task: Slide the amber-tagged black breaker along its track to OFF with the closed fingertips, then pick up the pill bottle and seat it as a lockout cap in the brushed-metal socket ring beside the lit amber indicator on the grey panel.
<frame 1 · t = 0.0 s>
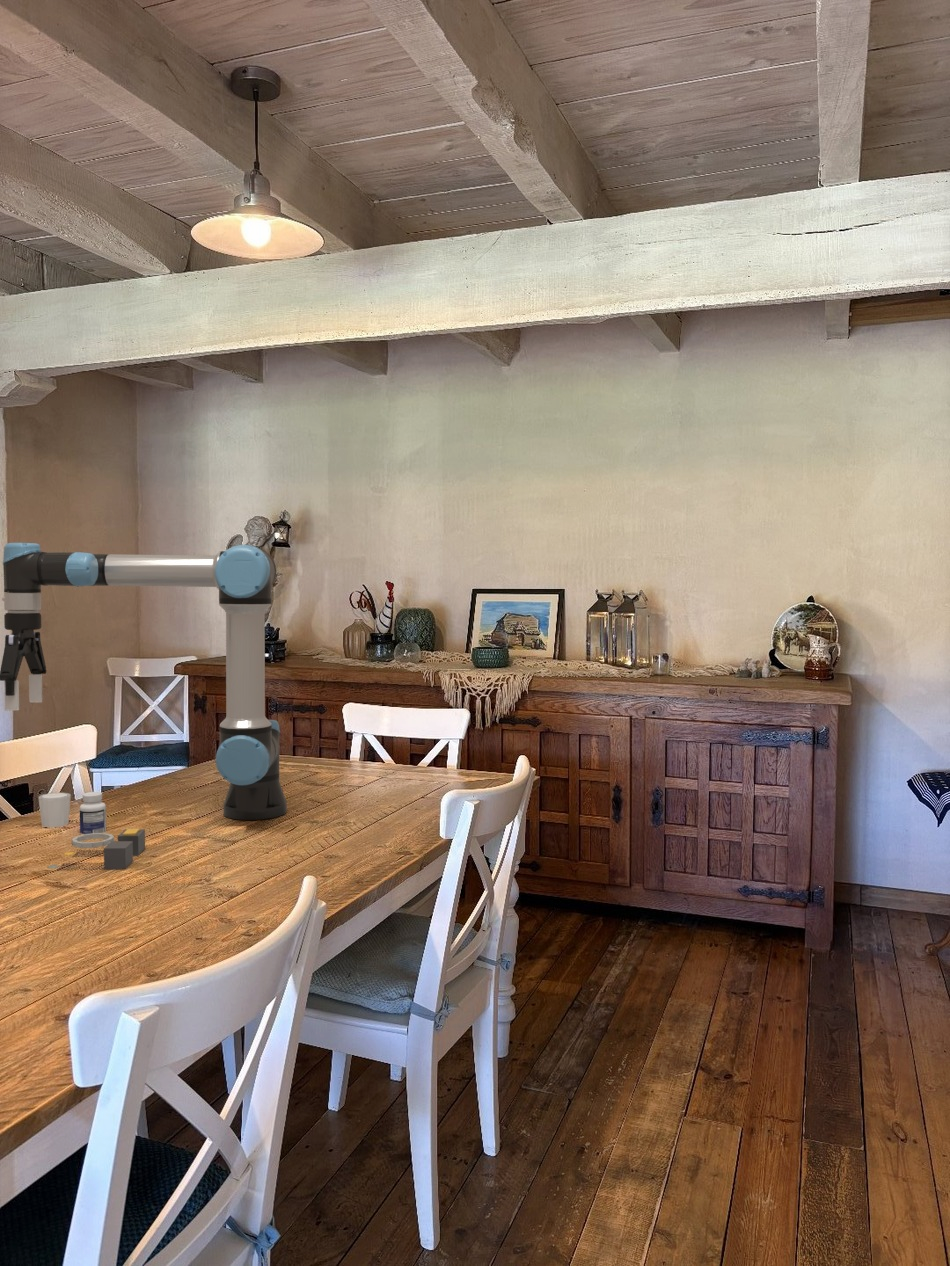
hand: (24, 706, 216), 28 cm above the table, fingers open, 13 cm apart
pill bottle: (93, 838, 211), on the table
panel: (106, 859, 195), on the table
grey cup: (55, 826, 221), on the table
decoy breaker: (118, 854, 186), point 3 cm above the table, slide at 0.0 cm
tagged breaker: (131, 841, 195), point 4 cm above the table, slide at 0.0 cm
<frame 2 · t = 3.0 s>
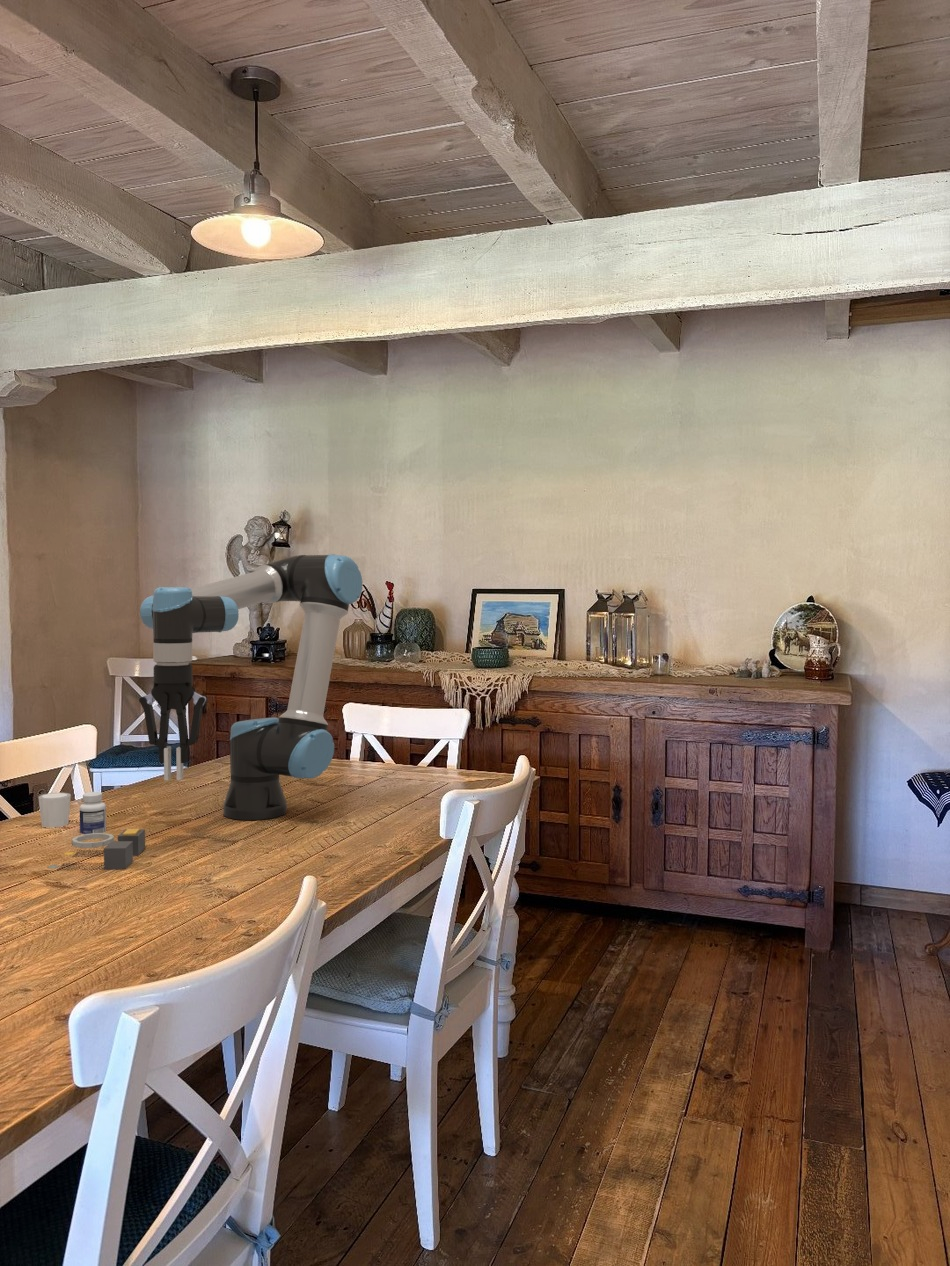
hand: (173, 778, 195), 16 cm above the table, fingers closed
nothing on the table moved.
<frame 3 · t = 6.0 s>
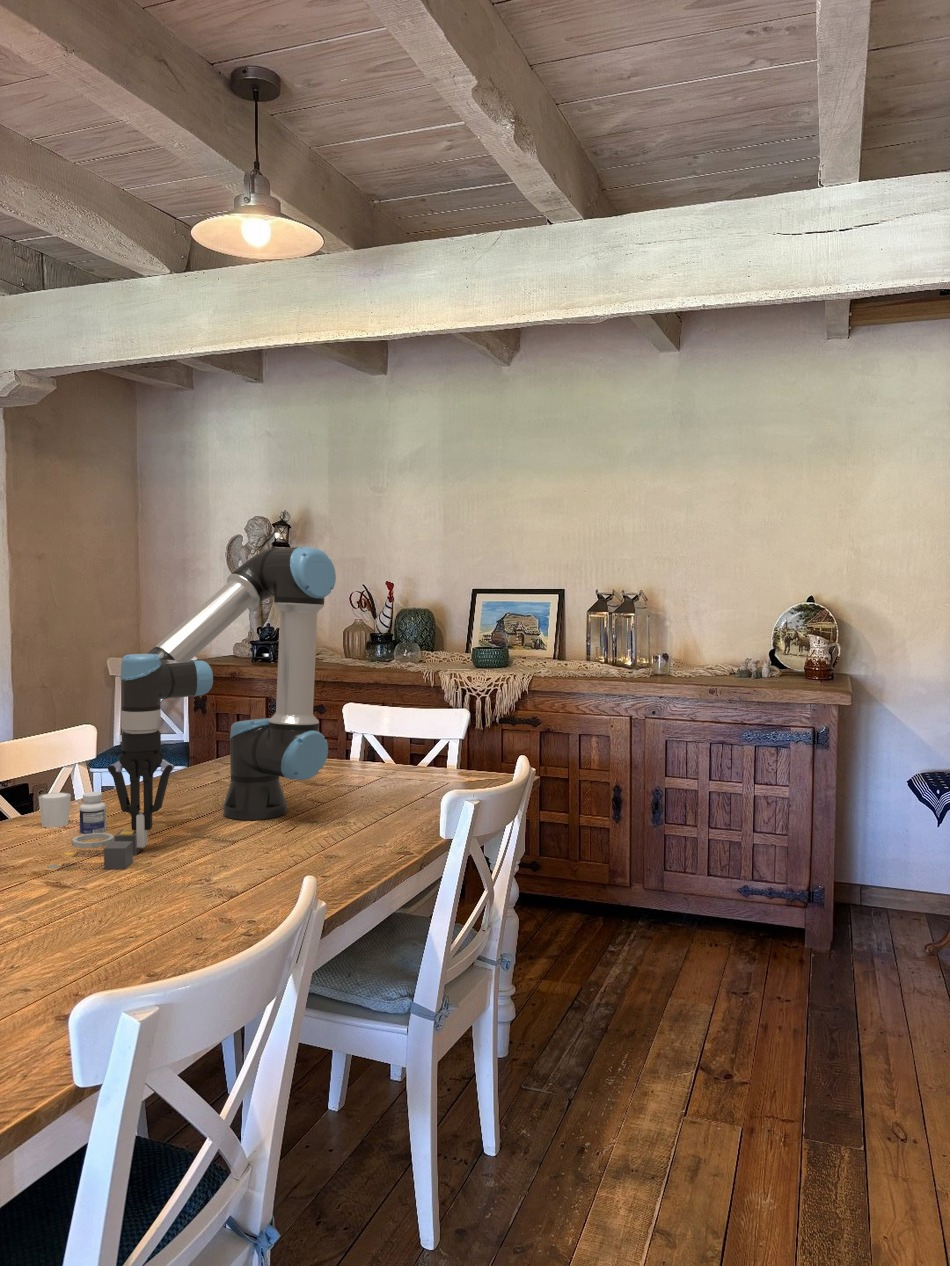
hand: (142, 845, 195), 3 cm above the table, fingers closed
tagged breaker: (128, 841, 195), point 4 cm above the table, slide at 0.7 cm, touching gripper
everything else where it was.
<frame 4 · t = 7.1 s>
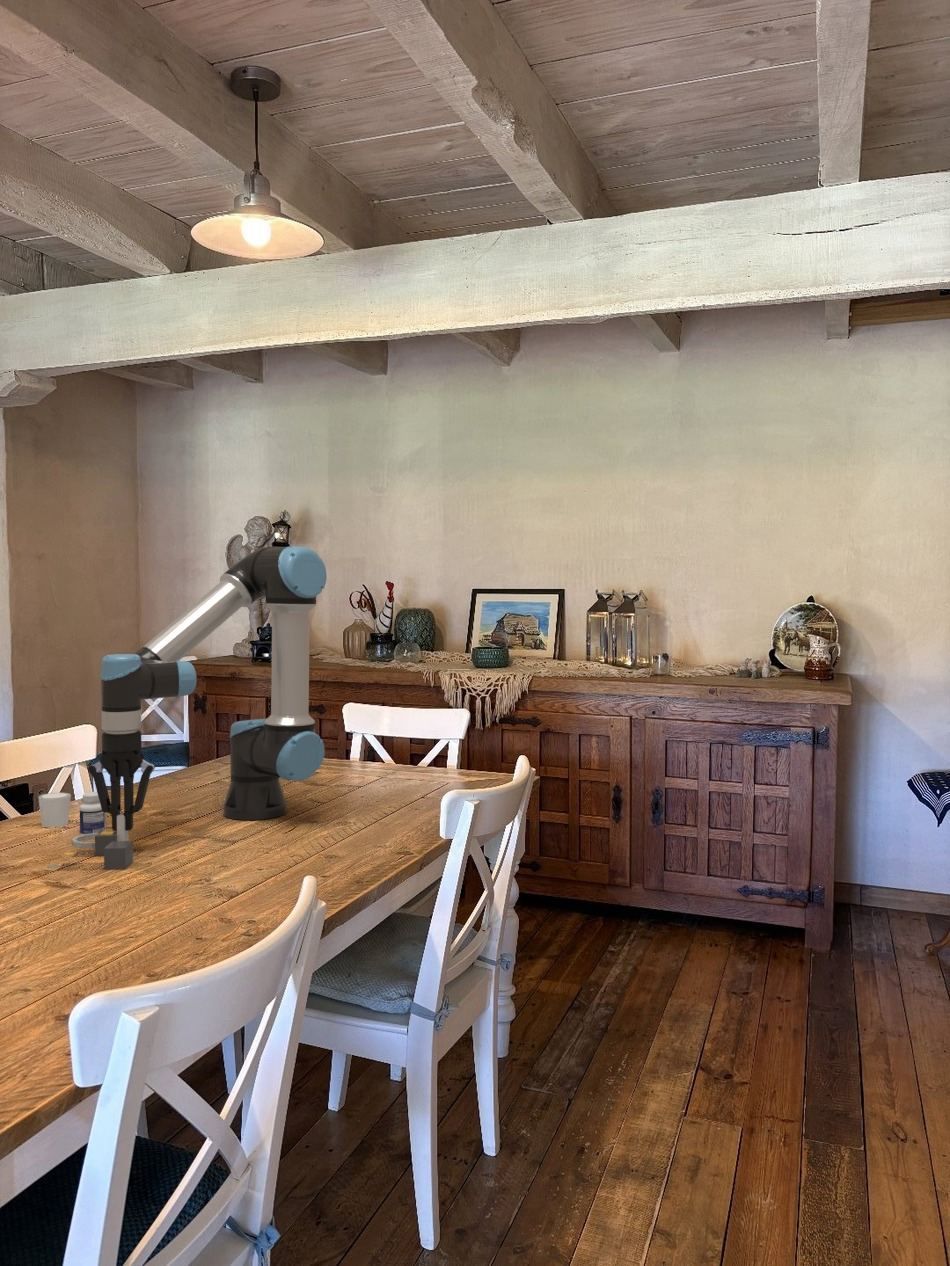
hand: (122, 846, 195), 3 cm above the table, fingers closed
tagged breaker: (109, 841, 195), point 4 cm above the table, slide at 4.5 cm, touching gripper
everything else where it was.
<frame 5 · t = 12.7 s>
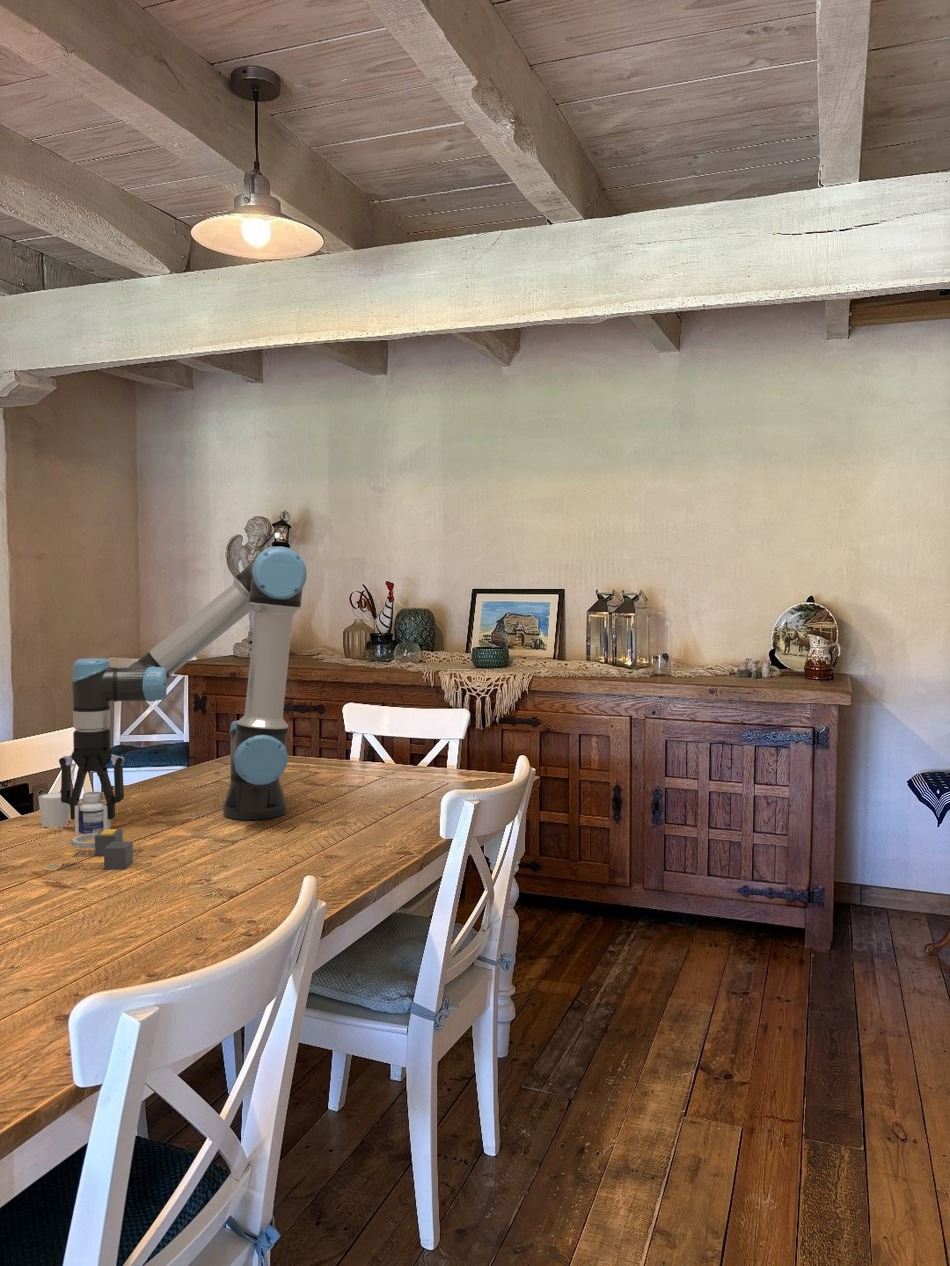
hand: (93, 833, 211), 1 cm above the table, fingers closed on pill bottle, 5 cm apart
pill bottle: (93, 838, 211), on the table, touching gripper
tagged breaker: (108, 841, 195), point 4 cm above the table, slide at 4.5 cm
everything else where it was.
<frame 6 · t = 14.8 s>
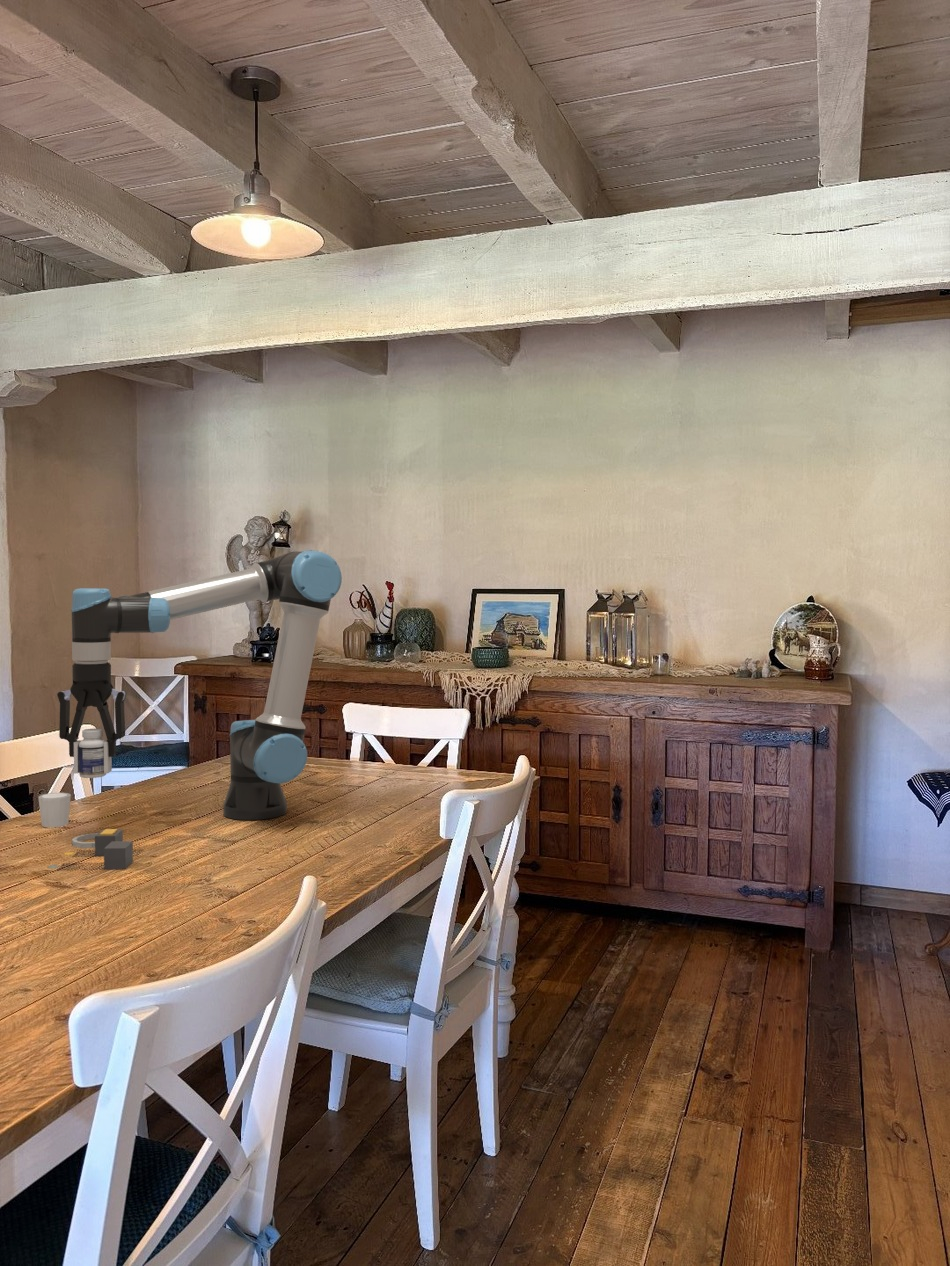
hand: (93, 771, 202), 16 cm above the table, fingers closed on pill bottle, 5 cm apart
pill bottle: (93, 776, 202), point 15 cm above the table, touching gripper
everything else where it was.
when the fingers open (4 cm above the table, at t = 17.1 s): pill bottle drops 2 cm, resting on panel.
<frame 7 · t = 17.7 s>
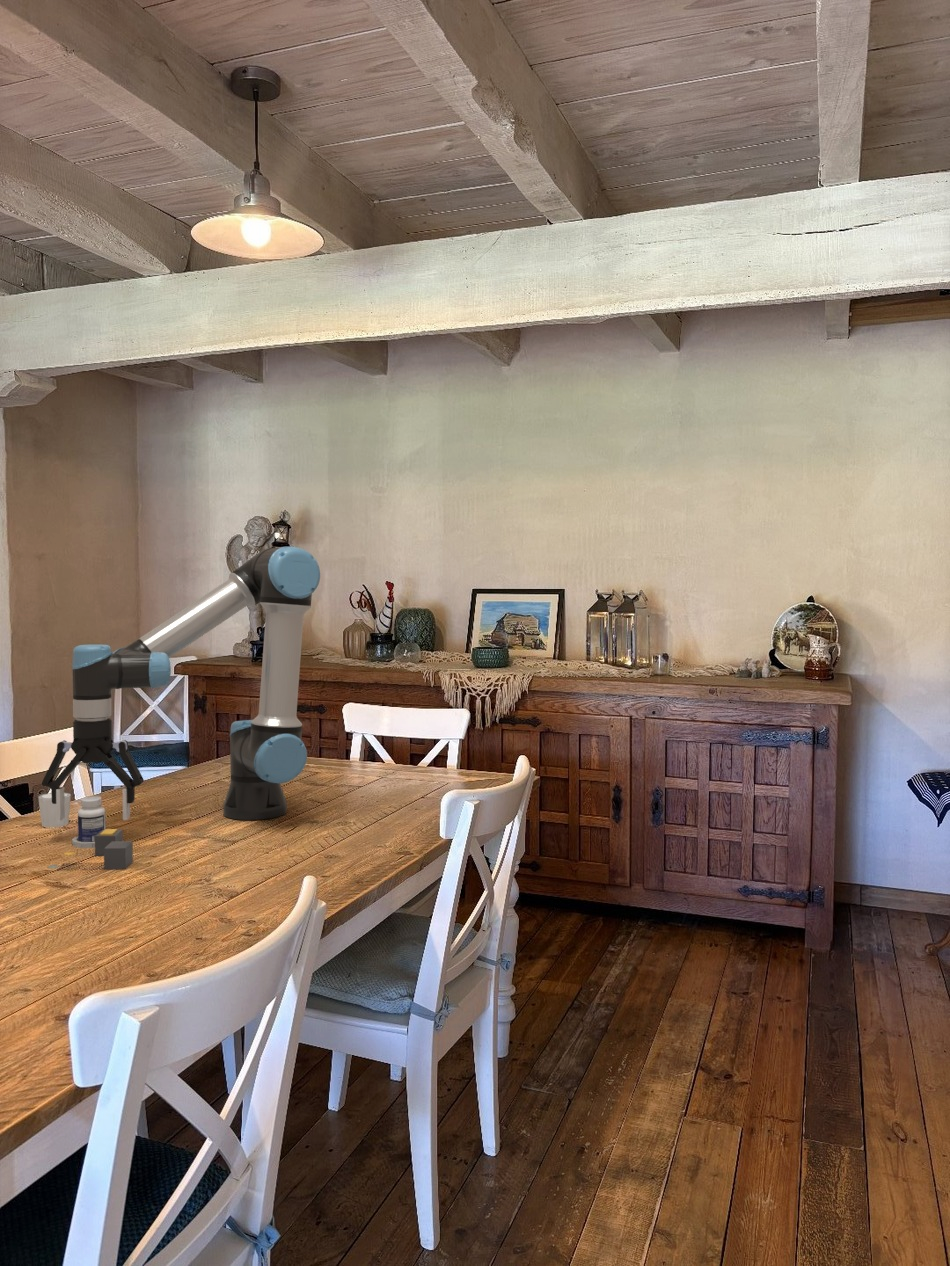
hand: (93, 818, 202), 6 cm above the table, fingers open, 13 cm apart
pill bottle: (92, 844, 202), point 1 cm above the table, touching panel
everything else where it was.
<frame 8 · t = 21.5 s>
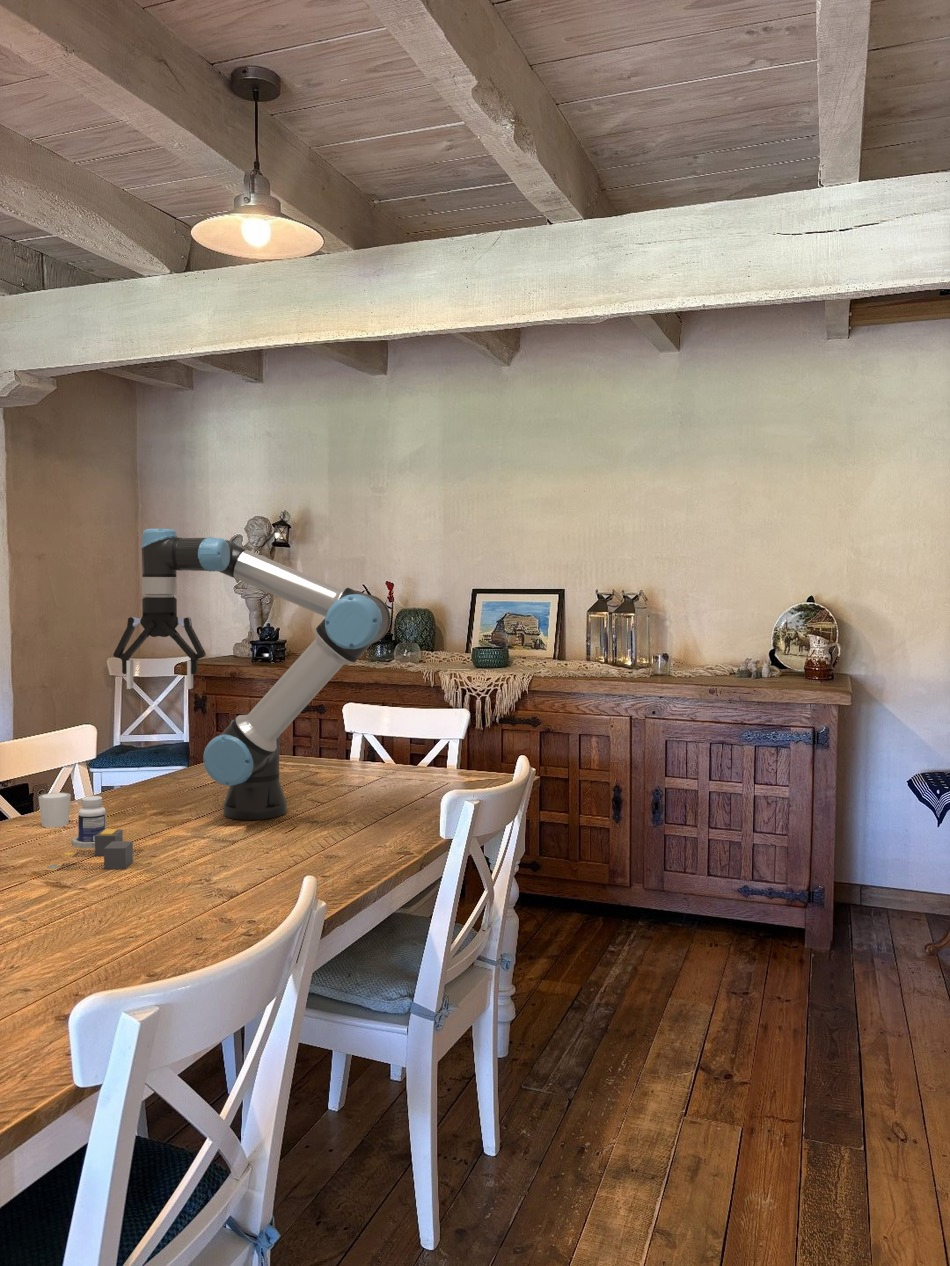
hand: (160, 688, 221), 32 cm above the table, fingers open, 13 cm apart
nothing on the table moved.
at the end: tagged breaker slide at 4.5 cm; pill bottle 0.9 cm from the target spot, point 1.0 cm above the table; pill bottle tilted 1° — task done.
